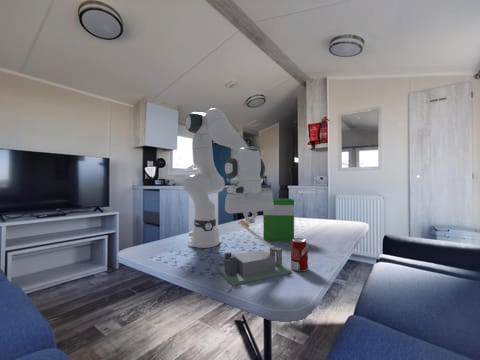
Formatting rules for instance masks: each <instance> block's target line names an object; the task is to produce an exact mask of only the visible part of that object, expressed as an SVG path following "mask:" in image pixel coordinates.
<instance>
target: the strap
mask: <svg viewBox="0 0 480 360" xmlns="http://www.w3.org/2000/svg"><path fill="white" fill-rule="evenodd" d="M237 224H238V225H240V226H241V227H242V228H243V229H244V230H246V231H248V233H250V234H251V235H252V236H254V237H255V238H257V240H259V241H260V242H261V243H263V244H264V245H266V246H267V247H268V248H269V249H270V248H271V249H272V250H273V251H274V252H275V253H276V249H277V248H276V247H275V248H274V247H273V245H272V244H270V243H269V241H265V240H264V238H263V237H261V236H260V235H259V234H257V233H256V232H254V230H252V229H251V228H249V227H250V224H247V223H246V220H242V219H241V220H239V221H238V222H237Z"/></svg>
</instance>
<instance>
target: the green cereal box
mask: <svg viewBox="0 0 480 360" xmlns="http://www.w3.org/2000/svg"><path fill="white" fill-rule="evenodd" d="M273 203H274V208H273V210H269V211H262V212H263V213H262V214H263V222H262V223H263V225H262V226H263V239H264V240H265V241H266V242H273V241H274V242H292V241H293V240H292V239H294V238H295V199H294V198H273Z"/></svg>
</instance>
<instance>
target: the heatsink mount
mask: <svg viewBox="0 0 480 360" xmlns="http://www.w3.org/2000/svg"><path fill="white" fill-rule="evenodd" d="M272 246H273V247H274V248H275V249H276V252H274V251H273V250H272V249H271V248H270V247H269V253H268V252H267V251H265V250H263V249H262V250H254V251H250V252H249V251H248V252H242V253H235V254H232V252H225V253H224V265H220V266H217V268H216V269H217V270H218V271H219V273H220V274H221V275H222V276H223V277H224V278H225V279H226V280H227V281H228V282H229V284H231V285H232V286H235V285H236V286H237V285H240V284H244V283H249V282H254V281H255V282H256V281H260V280H264V279H268V278H273V277H278V276H282V275H288V274H292V272H293V271H292V270H293V269H292V268H291V269H290V268H288V267H287V266H285V265H283V249H282V248H280V247H279V248H276V245H272Z"/></svg>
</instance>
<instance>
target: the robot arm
mask: <svg viewBox="0 0 480 360" xmlns="http://www.w3.org/2000/svg"><path fill="white" fill-rule="evenodd" d="M185 127H186V129H187V131H188V132H189V133H192V134H193V135H192V144H191V145H192V146H191V147H192V161H193V164H194V166H195V167H196V168H198V169H199V171H200V174H197V173H196V174H191V175H187V176H186V177H185V178H184V180H183V183H182V184H183V185H182V187H183V189H184V191H185V193H186V194H187V195H189V197H190V198H191V199H192V201H193V204H194V216H195V217H194V221H193V228H192V229H191V231H190V232H188V235H189V236H188V238H187V244H188V246H187V247H190V248H199V249H201V248H202V249H203V248H205V249H207V248H214V247H216V246H218V245H219V244H221V243H222V239H220V232H219V231H220V230H219V228H218V227H217V218H216V205H215V203H214V202H213V201H211V200H210V199H209V194H217V193H220V192H223V190H224V188H225V179H224V177H223V176H221V175H220V173H219V172H218V170H217V168H216V166H215V162H214V153H213V150H214V149H213V142H214V143H216V144H217V145H219V146H224V147H226V148H230V149H233V150H235V151H236V152H237V153H236V154H235V155H233V156H232V157H229V158H228V159H227V160H226V161H225V163H224V167H223V170H224V174H225V176H226V177H227V178H228V179H229V180H232V181H233V180H234V181H238V183H237V184H235V185H231V186H229V187H227V189H226V192H227V195H226V196H225V199H224V201H225V202H224V210H225V211H224V212H226V213H227V214H243V216H244V218H245V222H246V223H247V224H248V225H250V224H255V219H256V218H257V215H258V212H263V211H269V210H273V208H274V203H273V199H274V197H273V194H274V193H273V190H272V188H270V187H262V178H263V177H264V175H265V172H266V166H265V163H264V161H263V160H262V158H261V154H260V150H259V149H258V148H255V147H251V146H250V144H249V143H248V141H247V140H246V139H245V137H243V136H242V134H240V133H239V132H238V131H237V130H235V128H234V127H233V126H232V124H231V123H230V121H229V118H227V116H226V114H224V112H223V111H222V110H221V109H219V108H215V107H213V108H210V109H208V110H207V111H206V112H197V111H194V112H189V113H188V115H187V116H186V119H185ZM212 141H213V142H212ZM250 213H251V214H252V215H251V218H250V217H249V215H250Z"/></svg>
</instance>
